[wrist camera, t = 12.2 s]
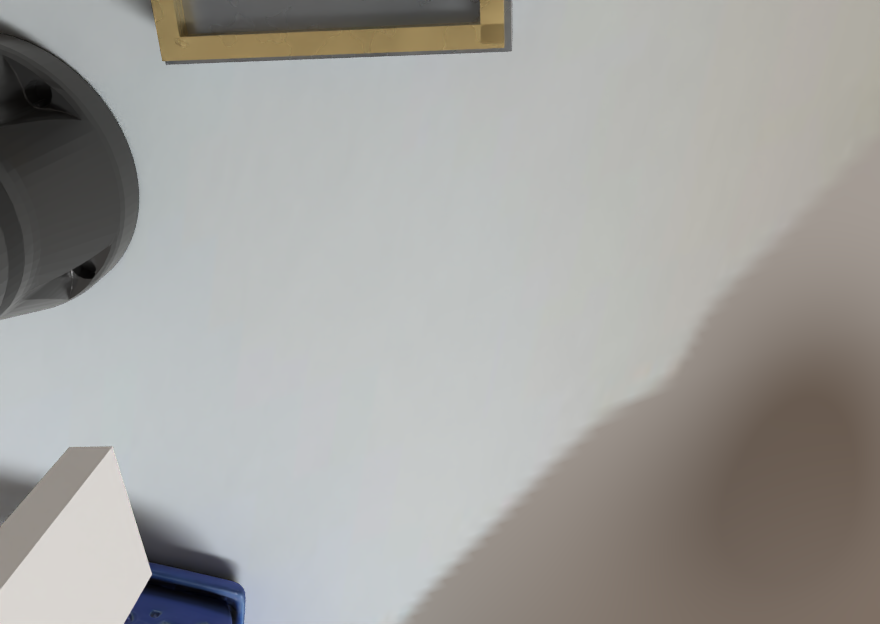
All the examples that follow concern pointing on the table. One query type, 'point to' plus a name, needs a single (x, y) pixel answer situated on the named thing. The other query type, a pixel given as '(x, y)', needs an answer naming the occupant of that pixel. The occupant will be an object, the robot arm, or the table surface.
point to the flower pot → (187, 599)
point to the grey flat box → (327, 28)
